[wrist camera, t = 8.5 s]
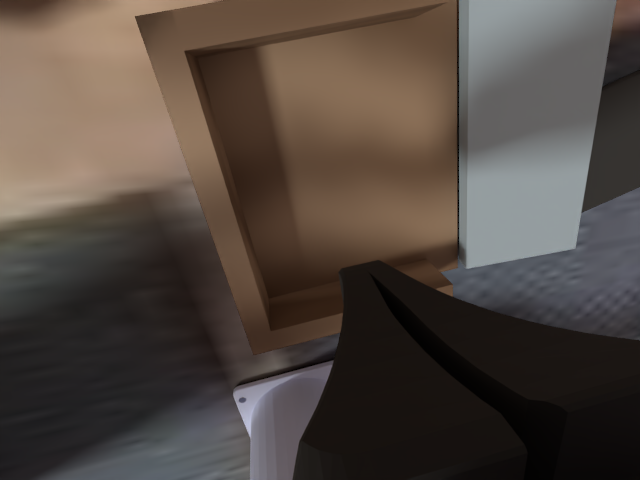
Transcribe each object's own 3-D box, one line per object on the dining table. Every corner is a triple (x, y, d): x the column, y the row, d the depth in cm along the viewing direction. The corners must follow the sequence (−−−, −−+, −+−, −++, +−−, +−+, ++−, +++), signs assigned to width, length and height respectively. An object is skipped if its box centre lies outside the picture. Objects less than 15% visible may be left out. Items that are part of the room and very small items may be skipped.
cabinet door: (466, 268, 20) (575, 248, 20) (469, -16, 14) (624, -47, 14) (459, 260, 21) (563, 241, 21) (458, -10, 15) (604, -39, 15)
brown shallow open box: (449, 260, 22) (487, 293, 19) (253, 310, 21) (253, 355, 18) (445, -17, 16) (501, -48, 12) (164, 34, 15) (134, 16, 11)
